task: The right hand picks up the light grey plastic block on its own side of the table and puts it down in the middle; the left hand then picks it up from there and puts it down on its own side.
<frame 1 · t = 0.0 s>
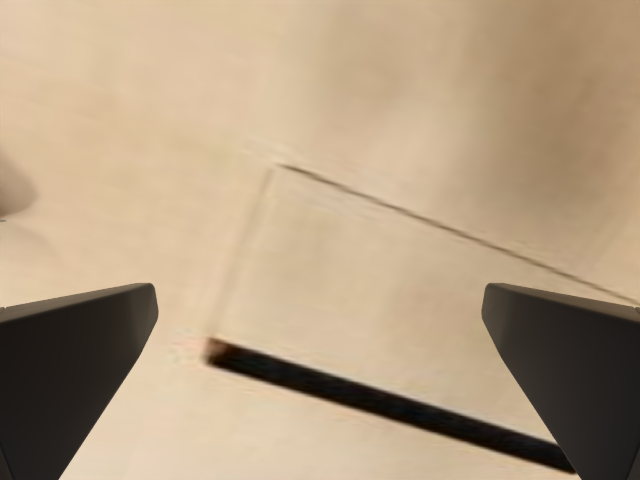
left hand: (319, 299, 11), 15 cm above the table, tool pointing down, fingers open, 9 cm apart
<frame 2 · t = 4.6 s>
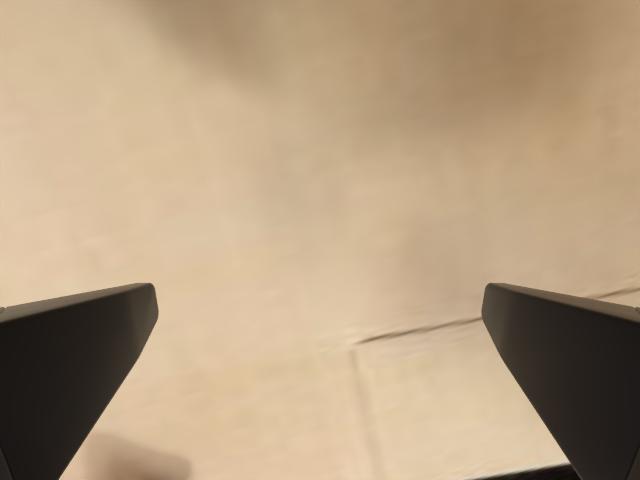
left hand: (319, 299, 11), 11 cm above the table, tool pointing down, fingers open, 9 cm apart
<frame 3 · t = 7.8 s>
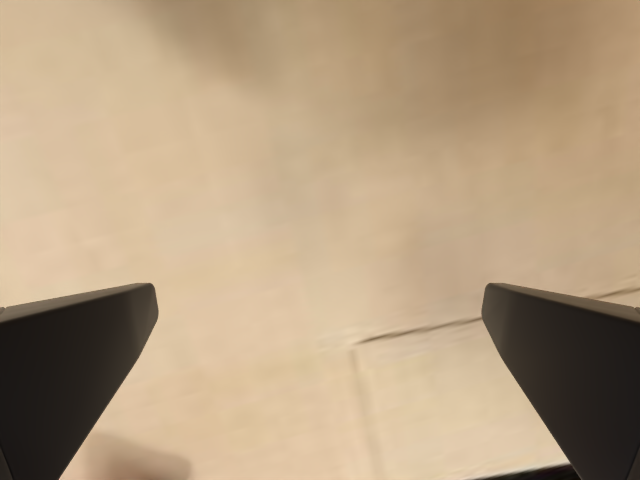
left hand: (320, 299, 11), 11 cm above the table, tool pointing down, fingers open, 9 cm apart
when the right hand's fingers open (2 cm above the table, at t = 11.1 s): block drops 1 cm, on the table.
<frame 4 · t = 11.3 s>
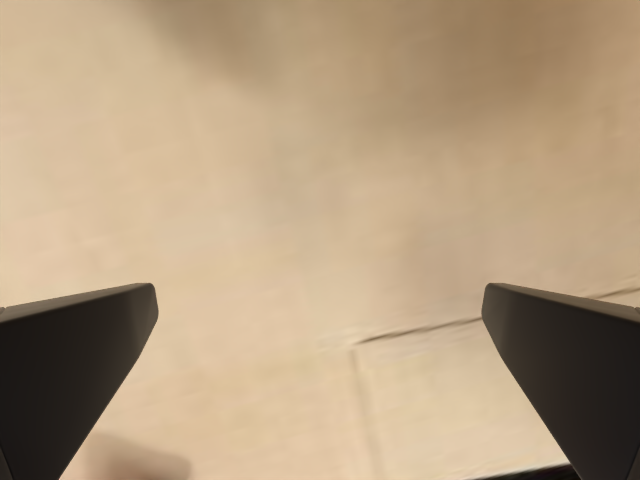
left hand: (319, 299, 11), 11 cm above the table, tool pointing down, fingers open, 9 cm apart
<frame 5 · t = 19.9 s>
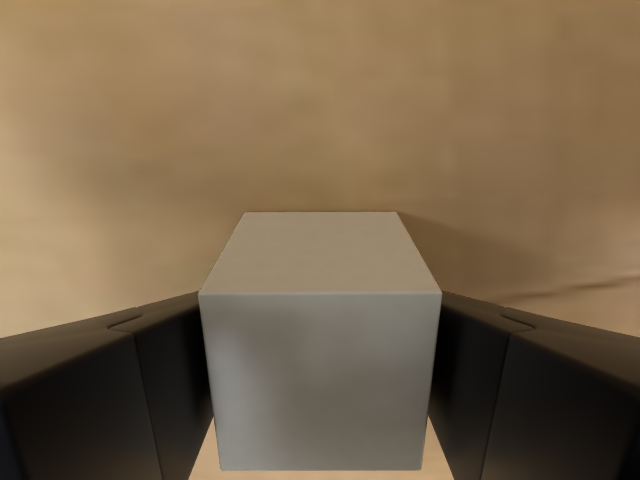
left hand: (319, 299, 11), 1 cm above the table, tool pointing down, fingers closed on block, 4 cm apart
block: (320, 279, 12), on the table, touching left hand
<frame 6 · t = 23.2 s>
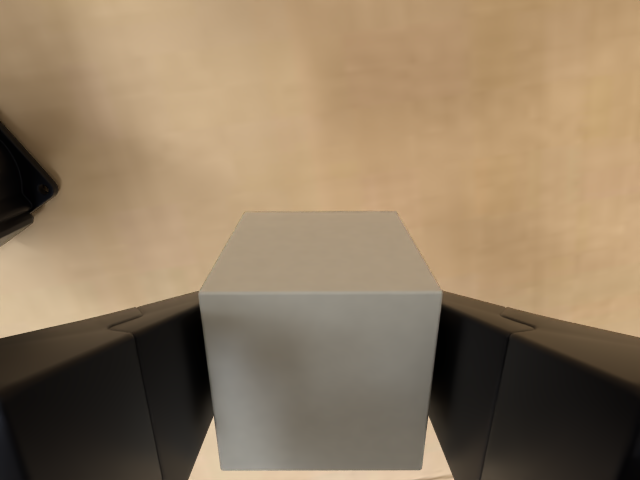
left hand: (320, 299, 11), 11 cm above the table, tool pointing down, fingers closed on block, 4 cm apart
block: (320, 279, 12), point 10 cm above the table, touching left hand
when the left hand's fingers open (2 cm above the table, at t = 26.8 s): block drops 1 cm, on the table.
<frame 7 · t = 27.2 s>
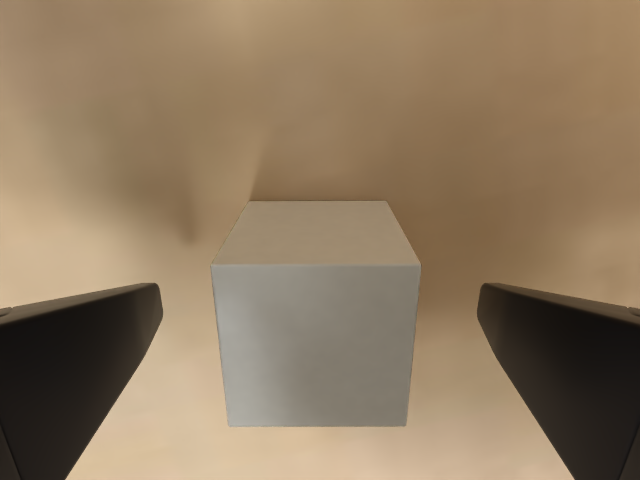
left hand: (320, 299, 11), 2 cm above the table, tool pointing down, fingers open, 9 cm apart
block: (317, 263, 13), on the table
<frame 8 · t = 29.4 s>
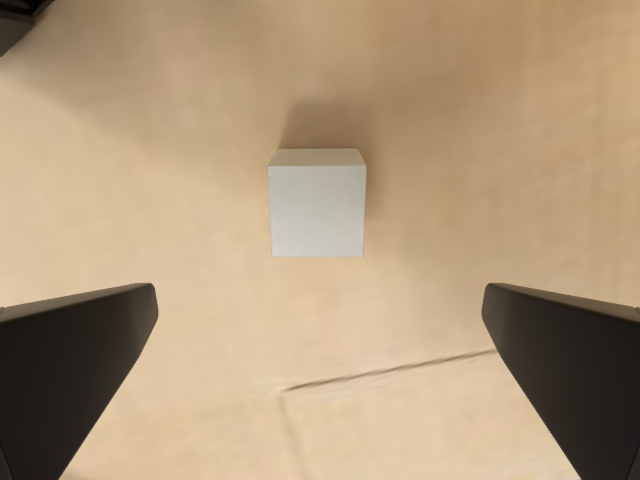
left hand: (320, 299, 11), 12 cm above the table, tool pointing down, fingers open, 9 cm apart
block: (317, 187, 22), on the table
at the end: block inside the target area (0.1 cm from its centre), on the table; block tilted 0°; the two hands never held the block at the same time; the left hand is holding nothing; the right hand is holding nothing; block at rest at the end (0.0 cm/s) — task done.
